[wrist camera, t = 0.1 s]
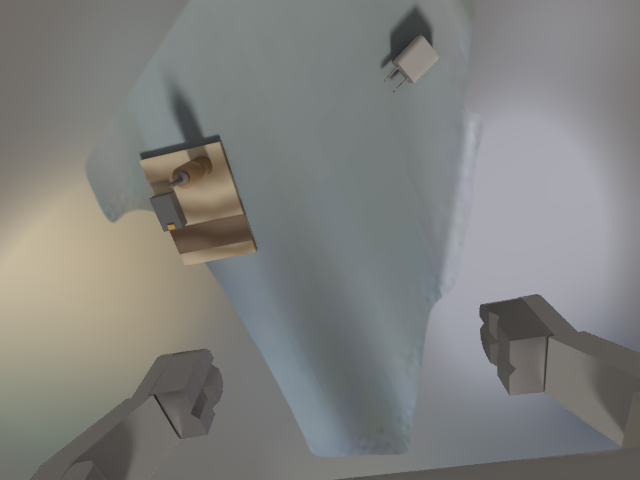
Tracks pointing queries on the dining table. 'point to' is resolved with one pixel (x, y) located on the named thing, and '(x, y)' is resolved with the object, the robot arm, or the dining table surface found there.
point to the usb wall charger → (415, 60)
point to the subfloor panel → (204, 206)
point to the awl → (191, 172)
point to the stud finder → (168, 211)
